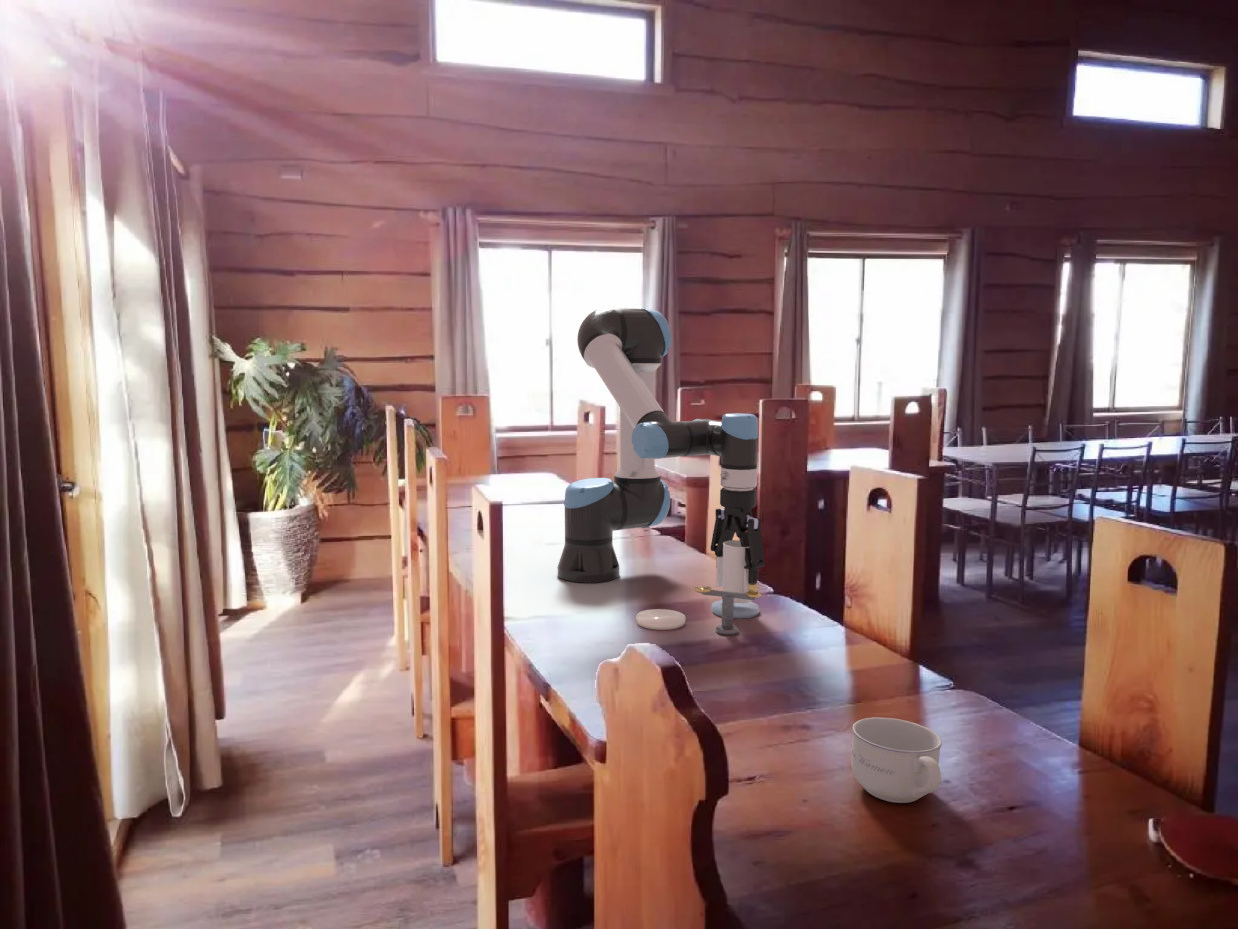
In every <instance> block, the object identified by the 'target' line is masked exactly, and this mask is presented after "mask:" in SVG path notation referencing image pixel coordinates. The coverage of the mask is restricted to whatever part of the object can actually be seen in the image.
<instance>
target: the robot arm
mask: <svg viewBox="0 0 1238 929" xmlns="http://www.w3.org/2000/svg"><path fill="white" fill-rule="evenodd" d="M671 333H672V332H671V328H670V325H669V323H668V321H667V319H666V318H665V316H664V315H663V314H662V313H661V312H660V311H658V310H656V309H655V310H654V309H647V308H620V307H619V308H616V307H603V308H598V309H596V310H593V311H592V312H591V313H589V314H587V315H586V316H585V318H584V319H583V320H582V322H581V324H580V326H579V328H578V332H577V346H578V351H579V353H580V355H581V357H582V359H583V360H584V362H585V364H586V365H587V366H588V367H590V368H592V369H595V371H596V373H597V374H598V376H599V377H600V379H601V380H602V382H603V383H604V385H605V386H606V388H607V390H608V392H610V394H611V396H612V397H613V399H614V400H615V402H616V404H617V405H618V406H619V415H620V416H619V419H620V421H619V424H620V425H619V427H620V428H619V432H620V433H619V436H620V437H619V438H620V439H619V442H620V444H619V446H620V447H619V448H620V449H619V452H620V453H619V457H620V458H619V460H620V461H619V463H620V464H619V465H620V467H619V469H618V470H616V472H615V473H614V475H613V478H614V479H613V480H612V479H611V478H607V477H595V478H584V479H580V480H576V481H573V482H571V483H570V484H569V485H567V486H566V489H565V491H564V492H565V494H564V502H563V506H564V545H563V549H562V553H561V554H560V559H559V560H558V561H559V562H558V563H557V576H558V577H559V579H562V580H564V581H569V582H574V583H585V584H586V583H591V584H592V583H602V582H609V581H613V580H615V579H617V578H619V577H620V563H619V560H618V557H617V554H616V550H615V548H614V545H613V535H614V534H613V533H614V531H622V530H623V531H624V530H631V529H639V528H640V529H646V528H648V527H654V526H657V525H659V524H661V523H662V522H663V521H664V520H665V519H666V517H667V515H668V513H669V510H670V506H671V492H670V490H669V487H668V484H667V483H666V482H665V481H664V480H661V478H662V475H661V473H660V472H659V471H658V470H657V468H656V466H655V464H656V461H655V460H660V459H665V458H666V459H667V458H677V457H694V456H695V457H696V456H697V457H699V456H716V457H720V485H721V487H722V488H720V491H719V492H720V494H719V505H720V506H721V507H723V508H716V509H715V512H714V513H715V522H714V527H713V532H712V538H711V543H710V551H711V552H714V556H716V565H715V566H716V582H715V583H716V587H718V588H723V542H725V541H730V540H734V537H735V535H736V537H737V539H738V538H739V539H738V540H740V543H741V546H742V547H750V548H745V562H746V566H745V567H744V585H743V593H744V594H745V592H748V584H750V583H755V584H758V570H759V568H761V567H762V568H763V567H765V565H766V562H765V555H764V554H765V552H764V546H763V538H762V531H761V530H762V529H761V528H762V519H761V517H759V518H758V517H757V518H755V517H753V514H752V509H753V508H755V507H756V506H757V490H756V489H755V488H756V487H758V456H759V455H758V454H759V450H758V447H759V436H760V434H759V424H758V423H759V419H758V417H757V415H755V414H752V413H742V412H741V413H737V412H733V413H725V414H723V415H722V417H721V420H713V419H711V418H696V419H693V420H684V421H681V420H680V421H677V420H676V421H672V420H671V419H670V417H669V416H668V415H667V413H666V412H665V411H664V409H663V408H662V407H661V405H660V404H659V402H658V401H657V399H656V398H655V397H656V371H657V370H658V368H659V367H660V366H661V365H662V358H663V357H665V356H666V355H667V354H668V353H669V351H670V350H669V349H670V348H671V345H672V334H671Z"/></svg>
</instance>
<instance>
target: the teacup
mask: <svg viewBox="0 0 1238 929" xmlns="http://www.w3.org/2000/svg"><path fill="white" fill-rule="evenodd" d="M851 731H852V737H851V738H852V740H851V751H850V754H851V755H850V757H851V758H850V763H851V764H850V765H851V772H852V774H853V776H854V778H855V780H856V781H857V782H858V783H859V784H860V785H861V786H862V787H863V789H864V790H865V791H866V792H867V793H868V794H870V795H872V796H873V797H874V798H876V799H880V800H883V801H886V802H890V803H897V804H898V803H899V804H907V803H913V802H915V801H917V800H919V799H920V798H922V797H924V796H926V795H927V794H931V793H934V792H935V791H937V790H938V789H939V787H940V785H941V782H942V772H941V769H940V766H939V764H940V763H939V762H940V761H939V760H940V754H941V753H940V752H941V747H942V745H943V742H942V739H941V737H940V736H939V735H938V734H937V733H936V732H935V731H933V730H931V729H930V728H928V727H926V726H924V725H921V724H919V723H916V722H912V721H909V720H904V719H899V718H891V717H878V716H877V717H876V716H875V717H874V716H873V717H866V718H862V719H860V720H859V719H858V720H857V721H855V722H854V723H853V725H852V728H851Z"/></svg>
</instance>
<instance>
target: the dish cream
mask: <svg viewBox="0 0 1238 929" xmlns="http://www.w3.org/2000/svg"><path fill="white" fill-rule="evenodd" d="M635 623H636V624H637V625H638V626H640V627H642V628H645V629H649V630H655V631H656V630H657V631H658V630H659V631H662V630H663V631H665V630H674V629H676V630H677V629H680V628H682V627H683V626H685V625H686V615H685V614H684V613H682V612H680V611H677V610H675V609H674V610H672V609H665V608H655V609H654V608H653V609H652V608H651V609H646V610H641V611H639V612H638V613H637V614H636V616H635Z"/></svg>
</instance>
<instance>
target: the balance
mask: <svg viewBox="0 0 1238 929" xmlns="http://www.w3.org/2000/svg"><path fill="white" fill-rule="evenodd" d="M694 592H696V593H700V594H702V595H703V596H711V597H721V600H722V617H721V624H720V625H716V628H715V632H716V634H719V635H721V636H731V637H732V636H736V635H738V634H739V626H736V625H735V624H734V618H733V610H734V598H738V599H747V600H752V601H755V599H759V598H761V597H762V593H761V592H759V584H758V583H757V584H755V583H750V584H748V592H745V594H744V593H735V592H726V591H723V590H715V589H712V587H710V586H706V585H698V586H694Z"/></svg>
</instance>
